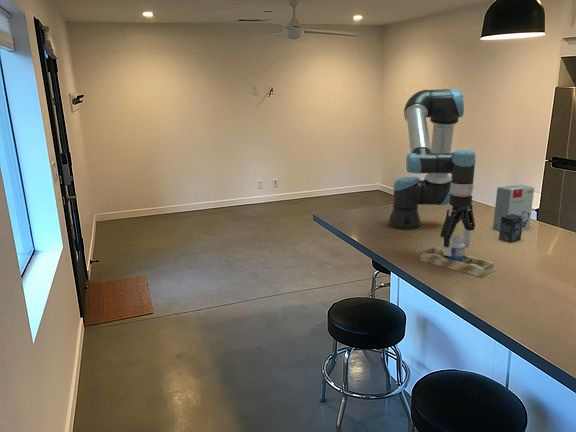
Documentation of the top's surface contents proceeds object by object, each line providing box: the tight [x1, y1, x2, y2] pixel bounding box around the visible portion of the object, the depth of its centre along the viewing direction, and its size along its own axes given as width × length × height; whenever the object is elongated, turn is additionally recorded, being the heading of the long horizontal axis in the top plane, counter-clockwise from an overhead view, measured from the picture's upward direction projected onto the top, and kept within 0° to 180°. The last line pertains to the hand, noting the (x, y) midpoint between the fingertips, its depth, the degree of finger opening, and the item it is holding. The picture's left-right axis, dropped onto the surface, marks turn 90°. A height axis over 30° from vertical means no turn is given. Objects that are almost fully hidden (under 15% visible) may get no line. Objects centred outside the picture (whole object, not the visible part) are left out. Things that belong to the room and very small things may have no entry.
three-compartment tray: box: [418, 246, 496, 278], centre depth 174 cm, size 25×10×3 cm, turn 41°
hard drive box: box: [492, 184, 535, 232], centre depth 216 cm, size 16×8×20 cm, turn 114°
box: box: [498, 214, 523, 243], centre depth 202 cm, size 8×6×11 cm
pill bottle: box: [448, 235, 466, 262], centre depth 173 cm, size 6×5×10 cm
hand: (456, 250), depth 173 cm, fingers open, 13 cm apart
